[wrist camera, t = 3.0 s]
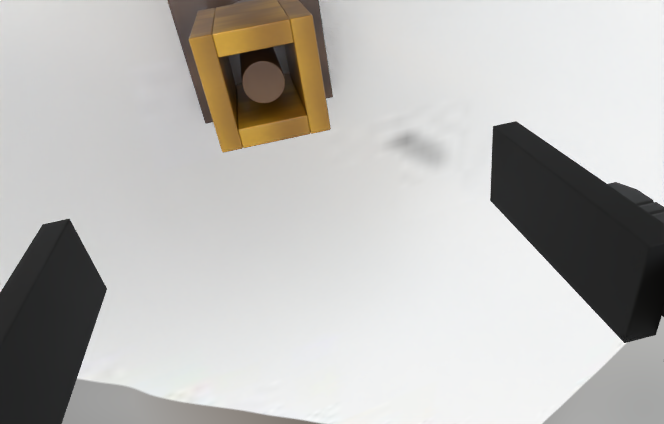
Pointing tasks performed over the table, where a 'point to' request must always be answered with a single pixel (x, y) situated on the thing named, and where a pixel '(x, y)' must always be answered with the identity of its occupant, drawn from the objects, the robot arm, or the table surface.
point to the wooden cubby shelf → (229, 98)
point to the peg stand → (246, 55)
